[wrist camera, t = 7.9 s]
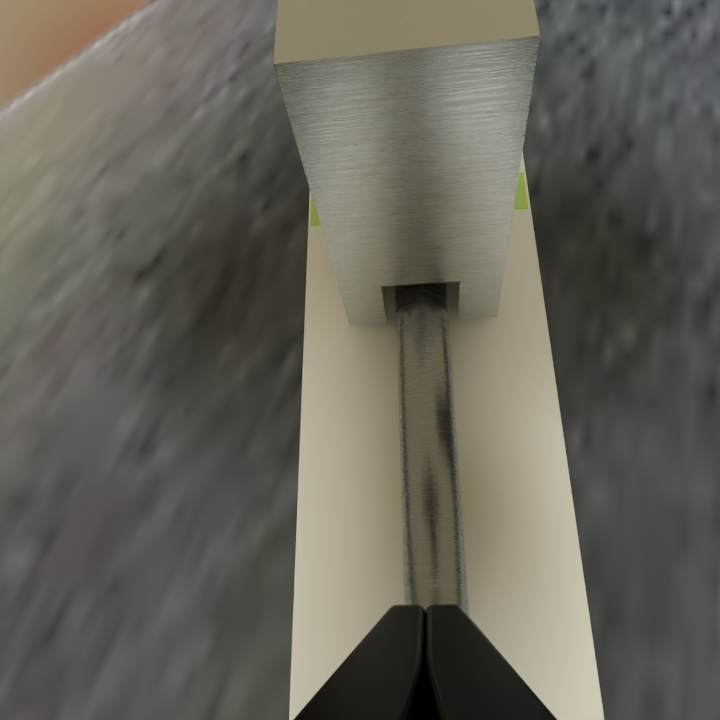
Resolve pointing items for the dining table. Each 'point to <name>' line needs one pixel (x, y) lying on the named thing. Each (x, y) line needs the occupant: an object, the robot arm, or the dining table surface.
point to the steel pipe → (428, 450)
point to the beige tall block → (410, 138)
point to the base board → (477, 484)
